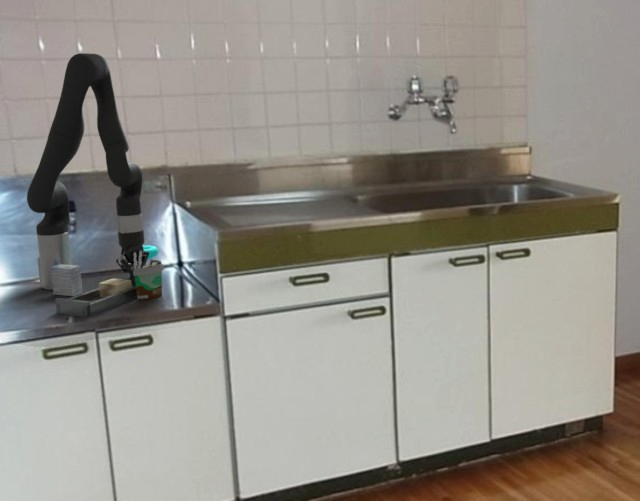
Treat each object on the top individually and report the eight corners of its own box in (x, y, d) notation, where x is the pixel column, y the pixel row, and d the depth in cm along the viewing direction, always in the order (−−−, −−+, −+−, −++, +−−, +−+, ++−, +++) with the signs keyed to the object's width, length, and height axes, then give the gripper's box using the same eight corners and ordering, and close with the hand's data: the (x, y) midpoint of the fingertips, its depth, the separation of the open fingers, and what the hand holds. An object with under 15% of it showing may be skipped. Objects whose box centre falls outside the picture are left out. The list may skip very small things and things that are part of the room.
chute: (56, 313, 204) (55, 299, 203) (115, 291, 225) (114, 279, 224) (87, 317, 199) (85, 302, 198) (144, 294, 220) (143, 281, 219)
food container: (155, 303, 211) (152, 268, 209) (135, 302, 212) (132, 268, 210) (172, 291, 223) (170, 259, 221) (153, 291, 224) (150, 259, 222)
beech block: (100, 296, 216) (98, 283, 215) (113, 291, 221) (112, 278, 221) (118, 298, 213) (117, 285, 212) (132, 293, 218) (131, 280, 217)
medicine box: (83, 293, 225) (80, 265, 223) (72, 297, 221) (69, 268, 219) (63, 291, 228) (60, 263, 226) (52, 294, 224) (49, 267, 222)
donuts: (152, 243, 247) (161, 248, 238) (155, 272, 249) (164, 278, 240) (123, 247, 242) (131, 252, 234) (125, 276, 244) (133, 282, 236)
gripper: (135, 225, 229) (139, 279, 232) (105, 232, 217) (111, 289, 220) (154, 226, 225) (159, 281, 229) (125, 233, 214) (130, 291, 217)
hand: (135, 285), depth 225 cm, fingers closed
